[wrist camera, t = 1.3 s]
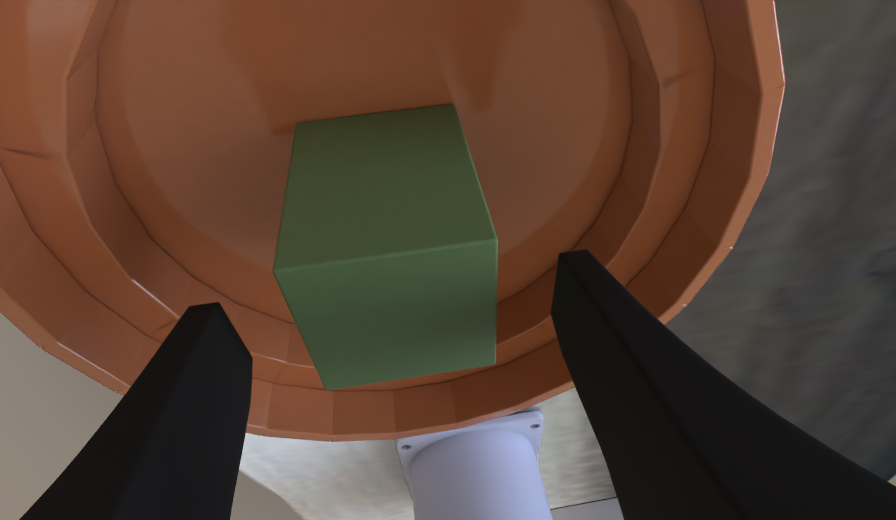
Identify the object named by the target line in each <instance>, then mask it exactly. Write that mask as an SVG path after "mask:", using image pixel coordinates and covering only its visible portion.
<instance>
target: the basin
mask: <svg viewBox="0 0 896 520" xmlns="http://www.w3.org/2000/svg"><path fill="white" fill-rule="evenodd" d="M784 83H785V74H784V67H783V59H782V52H781V44H780V37H779V29H778V22H777V15H776V7H775V0H0V312H1V313H2V314H3V315H4V316H5V317H6V318H7V319H8V320H10V321H11V322H12V323H13V324H14V325H15V326H16V327H17V328H18V329H20V330H21V331H22V332H23V333H24V334H25V335H26V336H27V337H28V338H30V339H31V340H32V341H33V342H34V343H35V344H36V345H37V346H39V347H41V348H42V349H43V350H44V351H46V352H48V353H49V354H51V355H53V356H55V357H56V358H58V359H60V360H61V361H63V362H65V363H66V364H68V365H70V366H72V367H73V368H75V369H77V370H78V371H80V372H82V373H84V374H85V375H87V376H89V377H91V378H92V379H94V380H95V381H97V382H99V383H101V384H102V385H104V386H106V387H108V388H109V389H111V390H113V391H116V392H117V393H119V394H122V395H125V394H126V393H127V391H128V390H129V388H130V387H131V386H132V384H133V383H134V382H135V380H136V379H137V378H138V376H139V375H140V374H141V372H142V371H143V370H144V368H145V367H146V365H147V364H148V363H149V361H150V360H151V358H152V357H153V356H154V354H155V353H156V351H157V350H158V349H159V347H160V346H161V344H162V343H163V342H164V340H165V339H166V337H167V336H168V334H169V333H170V332H171V330H172V329H173V327H174V326H175V325H176V323H177V322H178V320H179V319H180V318H181V316H182V315H183V314H184V312H185V311H186V310H187V308H188V307H189V306H193V305H200V304H207V303H214V302H219V303H220V304H221V306H222V307H223V309H224V311H225V312H226V314H227V316H228V317H229V319H230V321H231V322H232V324H233V326H234V327H235V329H236V331H237V332H238V334H239V336H240V337H241V339H242V341H243V342H244V344H245V346H246V347H247V349H248V351H249V352H250V354H251V356H252V357H253V369H252V390H251V404H250V410H249V416H248V422H247V427H246V433H250V434H255V435H259V436H260V435H262V436H268V437H280V438H292V439H303V440H315V441H327V442H329V441H331V442H337V441H362V440H387V439H400V438H406V437H412V436H418V435H425V434H431V433H437V432H443V431H449V430H455V429H459V428H460V429H461V428H464V427H468V426H471V425H474V424H478V423H481V422H485V421H488V420H492V419H495V418H498V417H502V416H505V415H509V414H512V413H516V412H519V411H520V410H524V409H526V408H528V407H531V406H533V405H535V404H537V403H540V402H542V401H544V400H547V399H549V398H551V397H553V396H556V395H558V394H560V393H562V392H565V391H567V390H569V389H572V388H574V387H575V385H574V383H573V380H572V378H571V375H570V373H569V370H568V368H567V366H566V363H565V361H564V358H563V356H562V353H561V349H560V346H559V342H558V339H557V335H556V332H555V328H554V324H553V321H552V317H551V306H552V299H553V292H554V285H555V278H556V271H557V264H558V257H559V253H563V252H570V251H577V250H584V249H587V250H588V251H590V252H591V253H592V254H593V255H594V256H595V257H596V258H597V259H598V261H599V262H600V263H601V264H602V265H603V266H604V267H605V268H606V269H607V270H608V271H609V272H610V273H611V274H612V275H613V276H614V277H615V278H616V279H617V280H618V281H619V282H620V283H621V284H622V285H623V286H624V287H625V288H626V289H627V290H628V291H629V292H630V293H631V294H632V295H633V296H634V297H635V298H636V299H637V300H638V301H639V302H640V303H641V304H642V305H643V306H644V307H645V308H647V309H648V310H649V311H650V312H651V313H652V314H653V315H654V316H655V317H656V318H657V319H658V320H659V321H661V322H662V323H663V324H664V325H665V324H666V323H667V322H669V321H670V320H671V319H672V318H673V317H674V316H675V315H677V314H678V313H679V312H680V311H681V310H682V309H684V308H685V307H686V305H687V304H689V303H690V301H691V300H692V299H693V298H694V296H695V295H696V294H697V292H698V291H699V290H700V289H701V287H702V286H703V285H704V284H705V282H706V281H707V280H708V279H709V277H710V276H711V275H712V274H713V272H714V271H715V270H716V269H717V267H718V266H719V265H720V264H721V262H722V261H723V260H724V259H725V257H726V256H727V255H728V254H729V252H730V251H731V250H732V247H733V246H734V245H735V243H736V241H737V239H738V237H739V235H740V233H741V231H742V229H743V227H744V225H745V222H746V220H747V218H748V216H749V214H750V212H751V210H752V208H753V206H754V204H755V202H756V200H757V198H758V196H759V194H760V191H761V189H762V187H763V185H764V183H765V181H766V179H767V177H768V173H769V171H770V166H771V160H772V155H773V150H774V144H775V139H776V133H777V128H778V123H779V117H780V112H781V107H782V101H783V96H784V90H785V84H784ZM446 104H454V105H455V107H456V110H457V114H458V117H459V120H460V123H461V126H462V129H463V132H464V135H465V138H466V142H467V145H468V148H469V151H470V154H471V157H472V160H473V163H474V167H475V170H476V173H477V176H478V179H479V182H480V185H481V188H482V191H483V195H484V198H485V201H486V204H487V207H488V210H489V213H490V216H491V220H492V223H493V226H494V229H495V232H496V235H497V238H498V273H497V328H496V363H495V364H494V365H489V366H483V367H476V368H470V369H464V370H457V371H451V372H444V373H438V374H431V375H425V376H419V377H412V378H406V379H399V380H393V381H386V382H380V383H374V384H367V385H361V386H354V387H348V388H341V389H335V390H325V388H324V386H323V383H322V381H321V379H320V377H319V374H318V372H317V370H316V368H315V366H314V363H313V361H312V359H311V357H310V354H309V352H308V350H307V348H306V346H305V343H304V341H303V339H302V337H301V334H300V332H299V330H298V328H297V326H296V323H295V321H294V319H293V317H292V314H291V312H290V310H289V308H288V306H287V303H286V301H285V299H284V297H283V294H282V292H281V290H280V288H279V286H278V283H277V281H276V279H275V277H274V275H273V272H272V270H273V264H274V258H275V252H276V245H277V239H278V233H279V227H280V220H281V214H282V208H283V202H284V196H285V189H286V183H287V177H288V171H289V164H290V158H291V152H292V146H293V140H294V133H295V127H296V124H297V123H300V122H308V121H316V120H324V119H332V118H341V117H349V116H357V115H365V114H373V113H381V112H389V111H398V110H406V109H414V108H422V107H430V106H438V105H446Z"/></svg>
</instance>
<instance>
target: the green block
mask: <svg viewBox="0 0 896 520" xmlns="http://www.w3.org/2000/svg"><path fill="white" fill-rule="evenodd" d="M272 272H273V275H274V277H275V279H276V281H277V283H278V286H279V288H280V290H281V292H282V294H283V297H284V299H285V301H286V303H287V306H288V308H289V310H290V312H291V314H292V317H293V319H294V321H295V323H296V326H297V328H298V330H299V332H300V334H301V337H302V339H303V341H304V343H305V346H306V348H307V350H308V352H309V354H310V357H311V359H312V361H313V363H314V366H315V368H316V370H317V372H318V374H319V377H320V379H321V381H322V383H323V386H324V388H325V390H335V389H341V388H348V387H354V386H361V385H367V384H374V383H380V382H386V381H393V380H399V379H406V378H412V377H419V376H425V375H431V374H438V373H444V372H451V371H457V370H464V369H470V368H476V367H483V366H489V365H494V364H495V363H496V328H497V273H498V238H497V235H496V232H495V229H494V226H493V223H492V220H491V216H490V213H489V210H488V207H487V204H486V201H485V198H484V195H483V191H482V188H481V185H480V182H479V179H478V176H477V173H476V170H475V167H474V163H473V160H472V157H471V154H470V151H469V148H468V145H467V142H466V138H465V135H464V132H463V129H462V126H461V123H460V120H459V117H458V114H457V110H456V107H455V105H454V104H446V105H438V106H430V107H422V108H414V109H406V110H398V111H389V112H381V113H373V114H365V115H357V116H349V117H341V118H332V119H324V120H316V121H308V122H300V123H297V124H296V127H295V133H294V140H293V146H292V152H291V158H290V164H289V171H288V177H287V183H286V189H285V196H284V202H283V208H282V214H281V220H280V227H279V233H278V239H277V245H276V252H275V258H274V264H273V270H272Z"/></svg>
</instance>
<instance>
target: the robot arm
mask: <svg viewBox="0 0 896 520" xmlns="http://www.w3.org/2000/svg"><path fill="white" fill-rule="evenodd" d="M551 317H552V321H553V324H554V328H555V332H556V335H557V339H558V342H559V346H560V349H561V353H562V356H563V358H564V361H565V363H566V366H567V368H568V370H569V373H570V375H571V378H572V380H573V383H574V385H575V387H576V390H577V392H578V395H579V397H580V399H581V402H582V404H583V406H584V409H585V411H586V414H587V416H588V418H589V421H590V423H591V426H592V428H593V430H594V433H595V435H596V438H597V440H598V442H599V445H600V447H601V450H602V453H603V455H604V458H605V461H606V463H607V466H608V469H609V473H610V476H611V479H612V482H613V486H614V489H615V492H616V495H617V498H618V502H619V505H620V508H621V511H622V515H623V518H624V520H896V486H894V485H892V484H890V483H889V482H887V481H885V480H884V479H882V478H880V477H878V476H877V475H875V474H873V473H871V472H870V471H868V470H866V469H865V468H863V467H861V466H859V465H858V464H856V463H854V462H852V461H851V460H849V459H847V458H846V457H844V456H842V455H841V454H839V453H837V452H836V451H834V450H833V449H831V448H830V447H828V446H826V445H825V444H823V443H822V442H820V441H819V440H817V439H815V438H814V437H812V436H811V435H809V434H808V433H806V432H805V431H803V430H801V429H800V428H798V427H797V426H795V425H794V424H792V423H790V422H789V421H787V420H786V419H784V418H783V417H781V416H780V415H778V414H777V413H775V412H774V411H772V410H771V409H770V408H768V407H767V406H765V405H764V404H762V403H761V402H760V401H758V400H757V399H755V398H754V397H752V396H751V395H750V394H748V393H747V392H746V391H744V390H743V389H742V388H740V387H739V386H738V385H736V384H735V383H734V382H732V381H731V380H729V379H728V378H727V377H726V376H724V375H723V374H722V373H720V372H719V371H718V370H717V369H715V368H714V367H713V366H712V365H710V364H709V363H708V362H707V361H705V360H704V359H703V358H702V357H701V356H699V355H698V354H697V353H696V352H695V351H693V350H692V349H691V348H690V347H689V346H688V345H686V344H685V343H684V342H683V341H682V340H680V339H679V338H678V337H677V336H676V335H675V334H674V333H673V332H671V331H670V330H669V329H668V328H667V327H666V326H665V325H664V324H663V323H662V322H661V321H659V320H658V319H657V318H656V317H655V316H654V315H653V314H652V313H651V312H650V311H649V310H648V309H647V308H645V307H644V306H643V305H642V304H641V303H640V302H639V301H638V300H637V299H636V298H635V297H634V296H633V295H632V294H631V293H630V292H629V291H628V290H627V289H626V288H625V287H624V286H623V285H622V284H621V283H620V282H619V281H618V280H617V279H616V278H615V277H614V276H613V275H612V274H611V273H610V272H609V271H608V270H607V269H606V268H605V267H604V266H603V265H602V264H601V263H600V262H599V261H598V259H597V258H596V257H595V256H594V255H593V254H592V253H591V252H590V251H588V250H587V249H584V250H577V251H570V252H563V253H559V257H558V264H557V271H556V278H555V285H554V292H553V299H552V306H551ZM252 369H253V357H252V356H251V354H250V352H249V351H248V349H247V347H246V346H245V344H244V342H243V341H242V339H241V337H240V336H239V334H238V332H237V331H236V329H235V327H234V326H233V324H232V322H231V321H230V319H229V317H228V316H227V314H226V312H225V311H224V309H223V307H222V306H221V304H220V303H219V302H214V303H207V304H200V305H193V306H189V307H188V308H187V310H186V311H185V312H184V314H183V315H182V316H181V318H180V319H179V320H178V322H177V323H176V325H175V326H174V327H173V329H172V330H171V332H170V333H169V334H168V336H167V337H166V339H165V340H164V342H163V343H162V344H161V346H160V347H159V349H158V350H157V351H156V353H155V354H154V356H153V357H152V358H151V360H150V361H149V363H148V364H147V365H146V367H145V368H144V370H143V371H142V372H141V374H140V375H139V376H138V378H137V379H136V380H135V382H134V383H133V384H132V386H131V387H130V388H129V390H128V391H127V393H126V394H125V395H124V397H123V398H122V399H121V401H120V402H119V403H118V405H117V406H116V407H115V409H114V410H113V411H112V413H111V414H110V415H109V416H108V418H107V419H106V420H105V421H104V423H103V424H102V425H101V426H100V428H99V429H98V430H97V431H96V432H95V434H94V435H93V436H92V438H91V439H90V440H89V441H88V442H87V444H86V445H85V446H84V447H83V449H82V450H81V451H80V453H79V454H78V455H77V456H76V457H75V458H74V460H73V461H72V462H71V463H70V464H69V465H68V467H67V468H66V469H65V470H64V471H63V472H62V474H61V475H60V476H59V477H58V478H57V479H56V481H55V482H54V483H53V484H52V485H51V486H50V487H49V488H48V489H47V490H46V491H45V493H44V494H43V495H42V496H41V497H40V498H39V499H38V500H37V501H36V502H35V503H34V504H33V506H32V507H31V508H30V509H29V510H28V511H27V512H26V513H25V514H24V515H23V517H21V518H20V519H19V520H230V515H231V508H232V503H233V497H234V491H235V486H236V481H237V476H238V471H239V465H240V460H241V455H242V449H243V444H244V438H245V433H246V427H247V422H248V416H249V410H250V404H251V390H252ZM543 423H544V418H543V414H542V413H541V412H540V411H531V412H525V413H519V414H513V415H507V416H502V417H498V418H495V419H492V420H488V421H485V422H481V423H478V424H474V425H471V426H468V427H464V428H461V429H460V428H459V429H455V430H449V431H443V432H437V433H431V434H425V435H418V436H412V437H406V438H400V439H395V444H396V448H397V451H398V454H399V458H400V461H401V464H402V468H403V471H404V474H405V477H406V481H407V484H408V487H409V491H410V494H411V497H412V501H413V507H414V518H415V520H553V519H552V515H551V511H550V508H549V504H548V500H547V497H546V493H545V489H544V486H543V482H542V478H541V475H540V471H539V467H538V464H537V459H538V453H539V447H540V441H541V435H542V429H543Z"/></svg>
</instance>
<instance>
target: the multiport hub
mask: <svg viewBox="0 0 896 520" xmlns="http://www.w3.org/2000/svg"><path fill="white" fill-rule="evenodd" d="M550 511H551V515H552V519H553V520H624V518H623V515H622V511H621V508H620V505H619V502H618V498H613V499H608V500H602V501H597V502H591V503H586V504H580V505H575V506H569V507H564V508H558V509H553V510H550Z"/></svg>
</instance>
